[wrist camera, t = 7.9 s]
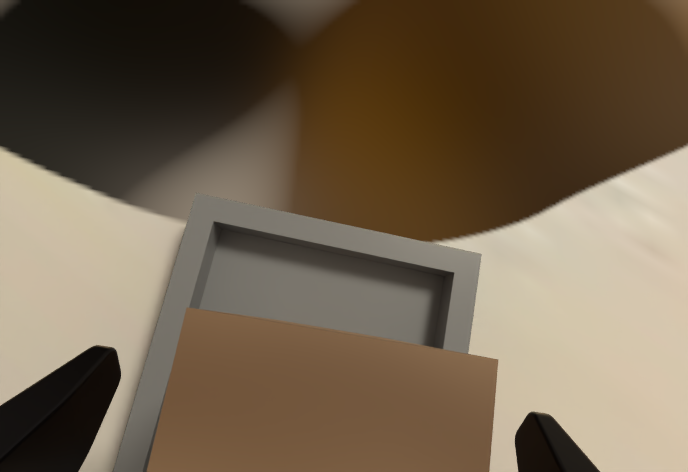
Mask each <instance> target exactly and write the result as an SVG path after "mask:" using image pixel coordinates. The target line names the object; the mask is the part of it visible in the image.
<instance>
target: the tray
mask: <svg viewBox="0 0 688 472" xmlns="http://www.w3.org/2000/svg"><path fill="white" fill-rule="evenodd" d="M480 262H481V254H479V253H475V252H470V251H465V250H461V249H456V248H451V247H447V246H442V245H437V244H433V243H428V242H423V241H418V240H414V239H409V238H405V237H400V236H395V235H391V234H386V233H381V232H376V231H371V230H367V229H363V228H358V227H353V226H349V225H344V224H339V223H335V222H330V221H325V220H321V219H316V218H311V217H307V216H302V215H297V214H293V213H288V212H283V211H278V210H274V209H269V208H265V207H260V206H255V205H251V204H246V203H241V202H237V201H232V200H227V199H222V198H218V197H213V196H209V195H204V194H199V193H196V195H195V198H194V201H193V205H192V208H191V212H190V216H189V219H188V222H187V225H186V228H185V232H184V235H183V238H182V242H181V245H180V248H179V252H178V255H177V259H176V262H175V265H174V269H173V272H172V275H171V279H170V282H169V285H168V289H167V292H166V295H165V299H164V302H163V305H162V309H161V312H160V316H159V319H158V322H157V326H156V329H155V332H154V336H153V339H152V342H151V346H150V349H149V352H148V356H147V359H146V363H145V366H144V369H143V373H142V376H141V379H140V383H139V386H138V389H137V393H136V396H135V399H134V403H133V406H132V409H131V413H130V416H129V420H128V423H127V426H126V430H125V433H124V436H123V440H122V443H121V446H120V450H119V453H118V456H117V460H116V463H115V467H114V470H113V472H147V468H148V464H149V460H150V456H151V451H152V447H153V443H154V439H155V435H156V431H157V427H158V423H159V419H160V414H161V410H162V406H163V402H164V398H165V394H166V390H167V386H168V382H169V377H170V373H171V369H172V365H173V361H174V357H175V353H176V349H177V345H178V340H179V336H180V332H181V328H182V324H183V320H184V316H185V312H186V308H187V307H188V308H195V309H202V310H210V311H217V312H224V313H232V314H239V315H246V316H254V317H261V318H268V319H275V320H281V321H287V322H293V323H299V324H305V325H311V326H317V327H323V328H329V329H335V330H341V331H347V332H353V333H358V334H364V335H370V336H376V337H382V338H387V339H392V340H398V341H403V342H408V343H413V344H419V345H424V346H429V347H434V348H439V349H445V350H450V351H455V352H460V353H466V354H468V350H469V343H470V336H471V328H472V321H473V313H474V306H475V299H476V291H477V284H478V277H479V269H480Z"/></svg>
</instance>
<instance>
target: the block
mask: <svg viewBox="0 0 688 472" xmlns="http://www.w3.org/2000/svg"><path fill="white" fill-rule="evenodd" d="M497 368H498V360H497V359H492V358H487V357H481V356H476V355H471V354H466V353H460V352H455V351H450V350H445V349H439V348H434V347H429V346H424V345H419V344H413V343H408V342H403V341H398V340H392V339H387V338H382V337H376V336H370V335H364V334H358V333H353V332H347V331H341V330H335V329H329V328H323V327H317V326H311V325H305V324H299V323H293V322H287V321H281V320H275V319H268V318H261V317H254V316H246V315H239V314H232V313H224V312H217V311H210V310H202V309H195V308H188V307H187V308H186V312H185V316H184V320H183V324H182V328H181V332H180V336H179V340H178V345H177V349H176V353H175V357H174V361H173V365H172V369H171V373H170V377H169V382H168V386H167V390H166V394H165V398H164V402H163V406H162V410H161V414H160V419H159V423H158V427H157V431H156V435H155V439H154V443H153V447H152V451H151V456H150V460H149V464H148V468H147V472H489V467H490V455H491V442H492V430H493V418H494V405H495V393H496V380H497Z"/></svg>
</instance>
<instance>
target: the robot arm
mask: <svg viewBox="0 0 688 472" xmlns="http://www.w3.org/2000/svg"><path fill="white" fill-rule="evenodd" d="M120 379H121V370H120V365H119V360H118V355H117V351H116V350H115V349H114V348H113V347H107V346H100V345H96V346H93V347H91V348H89V349H87V350H86V351H84V352H83V353H81V354H80V355H78V356H77V357H75V358H73V359H72V360H70V361H69V362H67V363H66V364H64V365H63V366H61V367H60V368H58V369H56V370H55V371H53V372H52V373H50V374H49V375H47V376H46V377H44V378H42V379H41V380H39V381H38V382H36V383H35V384H33V385H32V386H30V387H29V388H27V389H25V390H24V391H22V392H21V393H19V394H18V395H16V396H15V397H13V398H12V399H10V400H8V401H7V402H5V403H4V404H2V405H1V406H0V472H78V471H79V469H80V467H81V466H82V464H83V462H84V460H85V458H86V456H87V454H88V452H89V450H90V448H91V446H92V444H93V442H94V439H95V437H96V435H97V433H98V430H99V428H100V426H101V424H102V421H103V419H104V417H105V414H106V412H107V410H108V408H109V405H110V403H111V401H112V399H113V396H114V394H115V392H116V389H117V387H118V385H119V382H120ZM515 448H516V456H517V464H518V472H600V471H599V470H598V469H597V468H596V466H595V465H594V464H593V463H592V462H591V461H590V459H589V458H588V457H587V456H586V455H585V454H584V453H583V451H582V450H581V449H580V448H579V447H578V446H577V444H576V443H575V442H574V441H573V440H572V439H571V438H570V436H569V435H568V434H567V433H566V432H565V431H564V429H563V428H562V427H561V426H560V425H559V424H558V423H557V421H556V420H555V419H554V418H553V417H552V416H550V415H549V414H545V413H539V412H530V413H529V414H528V415H527V416H526V418H525V419H524V421H523V423H522V424H521V426H520V427H519V429H518V431H517V432H516V435H515Z"/></svg>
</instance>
